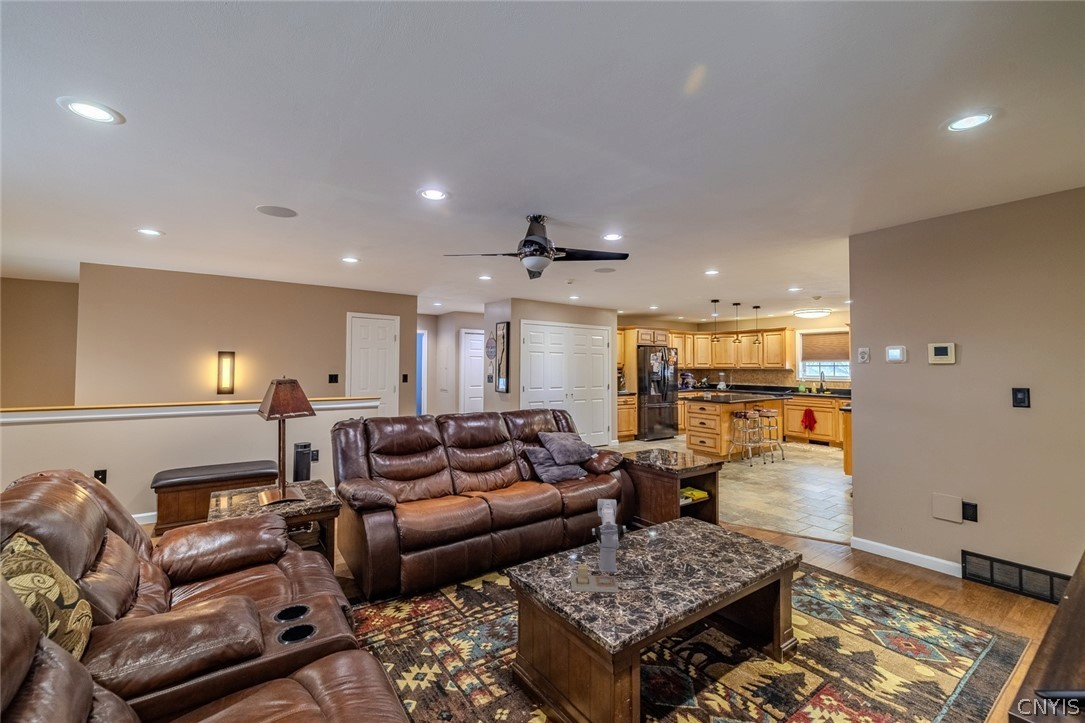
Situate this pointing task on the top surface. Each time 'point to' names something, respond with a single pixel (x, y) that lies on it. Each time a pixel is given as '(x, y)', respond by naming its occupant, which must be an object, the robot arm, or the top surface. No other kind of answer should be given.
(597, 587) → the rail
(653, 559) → the top surface
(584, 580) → the peg
